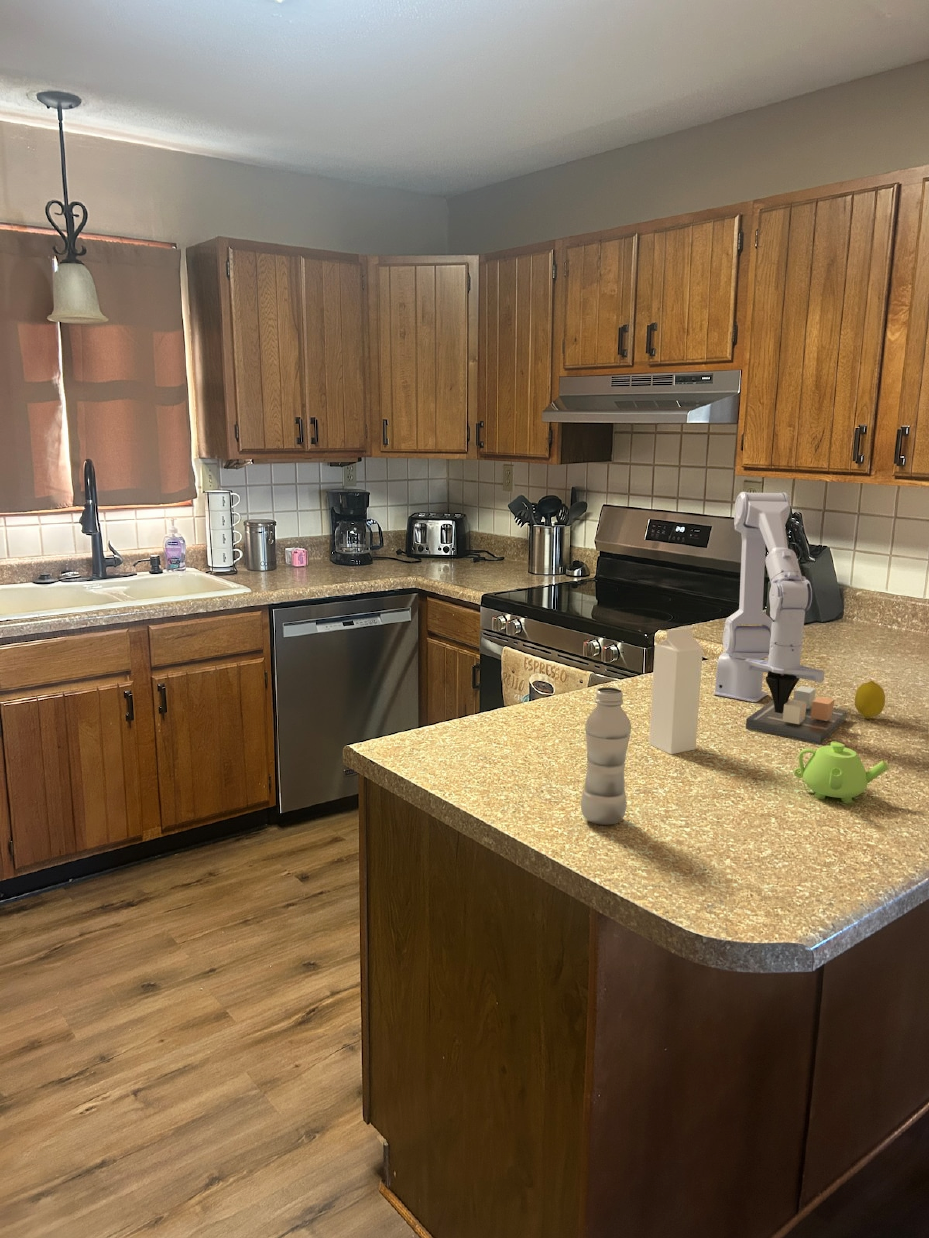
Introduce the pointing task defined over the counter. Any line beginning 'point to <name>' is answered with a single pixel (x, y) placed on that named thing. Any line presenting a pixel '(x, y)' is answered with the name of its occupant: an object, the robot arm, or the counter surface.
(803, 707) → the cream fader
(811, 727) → the panel
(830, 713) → the block
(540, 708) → the counter surface
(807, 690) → the block
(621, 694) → the plastic bottle
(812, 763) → the teapot
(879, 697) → the lemon
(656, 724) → the milk
